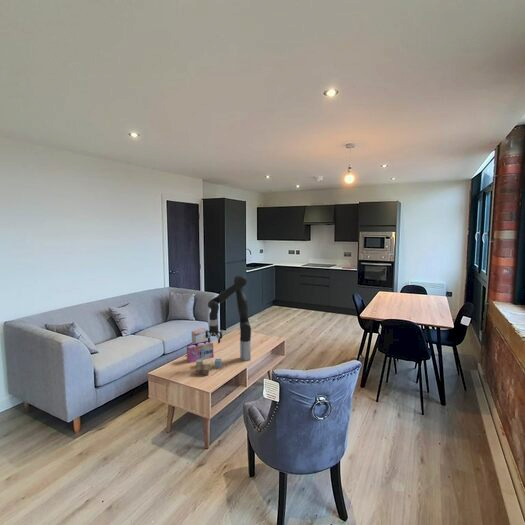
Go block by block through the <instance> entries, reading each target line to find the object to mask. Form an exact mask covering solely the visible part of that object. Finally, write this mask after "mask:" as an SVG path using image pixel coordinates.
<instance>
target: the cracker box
mask: <svg viewBox="0 0 525 525" xmlns="http://www.w3.org/2000/svg"><path fill="white" fill-rule="evenodd" d="M207 330H208V329H207V328H204V327H201V328H198V329H196V330H193V331H191V344H195V343H200V342H204V341H208V338H206V337H205V336H206V331H207Z"/></svg>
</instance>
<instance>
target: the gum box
mask: <svg viewBox="0 0 525 525" xmlns="http://www.w3.org/2000/svg"><path fill="white" fill-rule="evenodd" d="M214 356H215V354H214V342H213V341H212V340H210V343H208V340H207V341H204V342H200V343H195V344H192V343H191V344H186V360H187V361H188V362H189V363H195V362H196V360H199V359H202V361H203V360H208V359H210V358H214Z"/></svg>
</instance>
